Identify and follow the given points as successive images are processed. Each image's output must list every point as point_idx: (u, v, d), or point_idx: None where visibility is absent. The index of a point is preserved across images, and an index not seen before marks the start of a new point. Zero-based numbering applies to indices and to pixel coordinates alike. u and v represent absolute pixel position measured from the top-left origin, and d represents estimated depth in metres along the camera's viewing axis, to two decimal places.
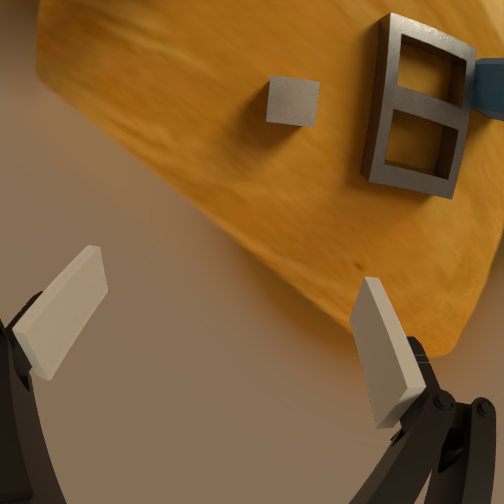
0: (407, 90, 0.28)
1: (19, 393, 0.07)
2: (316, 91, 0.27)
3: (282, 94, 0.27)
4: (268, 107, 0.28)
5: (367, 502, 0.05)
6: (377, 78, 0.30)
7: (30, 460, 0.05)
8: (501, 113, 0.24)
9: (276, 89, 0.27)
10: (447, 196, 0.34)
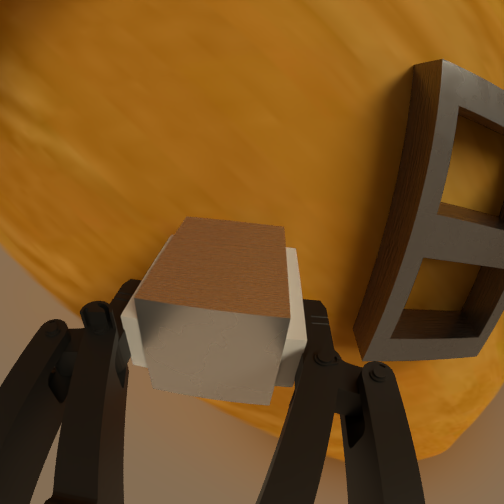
0: (453, 221, 0.16)
1: (113, 391, 0.08)
2: (277, 342, 0.10)
3: (176, 345, 0.10)
4: (150, 366, 0.11)
5: (270, 474, 0.06)
6: (402, 188, 0.18)
7: (104, 466, 0.05)
8: None
9: (158, 333, 0.10)
10: (472, 354, 0.21)
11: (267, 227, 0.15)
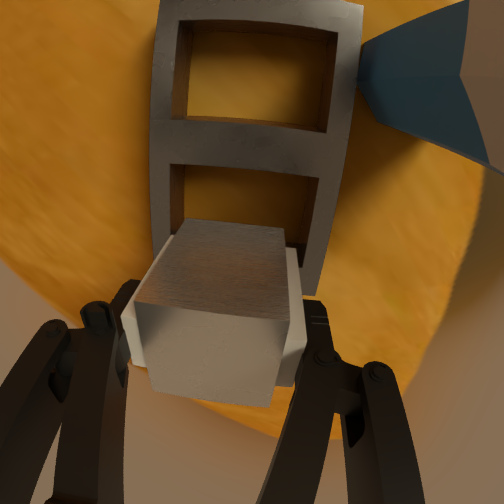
0: (193, 124, 0.18)
1: (113, 391, 0.08)
2: (277, 345, 0.10)
3: (176, 348, 0.10)
4: (150, 369, 0.11)
5: (270, 474, 0.06)
6: None
7: (105, 466, 0.05)
8: (417, 134, 0.14)
9: (158, 336, 0.10)
10: (304, 292, 0.24)
11: (267, 229, 0.15)
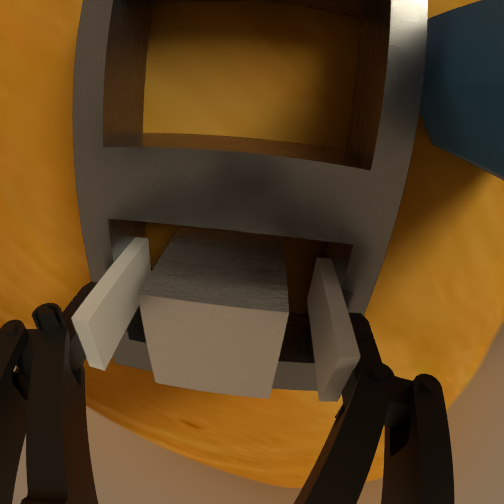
0: (137, 153, 0.10)
1: (70, 389, 0.07)
2: (276, 336, 0.10)
3: (178, 340, 0.10)
4: (153, 361, 0.11)
5: (314, 484, 0.05)
6: None
7: (70, 460, 0.05)
8: None
9: (161, 328, 0.10)
10: (317, 388, 0.16)
11: None
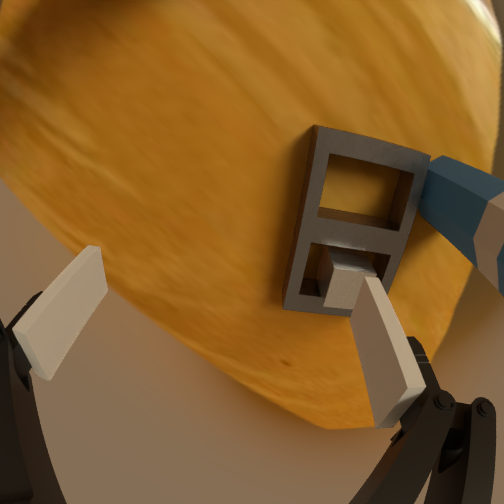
0: (329, 221, 0.32)
1: (19, 393, 0.07)
2: None
3: (341, 285, 0.32)
4: (327, 295, 0.33)
5: (367, 502, 0.05)
6: (301, 201, 0.34)
7: (30, 460, 0.05)
8: (446, 237, 0.28)
9: (337, 280, 0.32)
10: None
11: None
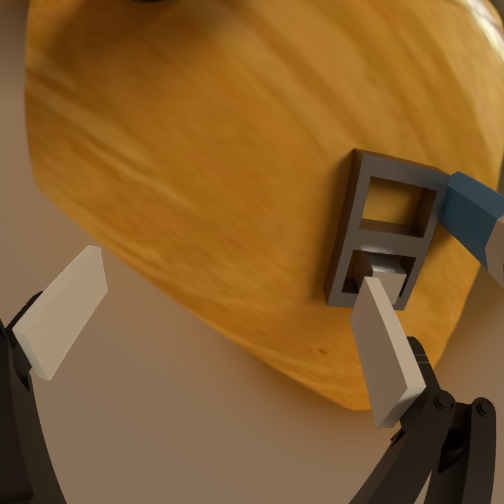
0: (369, 231, 0.37)
1: (19, 393, 0.07)
2: (402, 281, 0.37)
3: None
4: None
5: (367, 502, 0.05)
6: (344, 214, 0.39)
7: (30, 460, 0.05)
8: (461, 243, 0.33)
9: None
10: (399, 308, 0.42)
11: None
